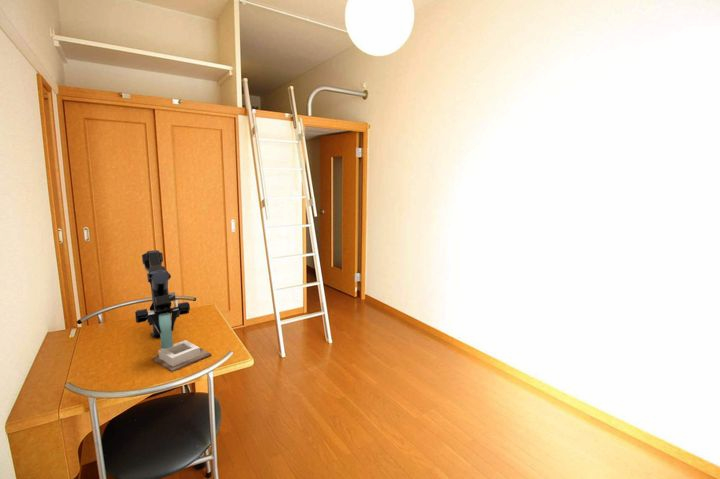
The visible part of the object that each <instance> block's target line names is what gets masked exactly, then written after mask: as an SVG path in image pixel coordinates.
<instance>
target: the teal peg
mask: <svg viewBox="0 0 720 479" xmlns="http://www.w3.org/2000/svg"><path fill="white" fill-rule="evenodd" d="M171 315H172V314H171ZM171 315H170V313H163V314H160V315H159V326H160V332H161V333H160V337H159V338H160V346H161V348H160V349H162V348H163V349H167V348H170V347H172V346H173V344H174V343H173V342H174V341H173V331H172V327H171Z"/></svg>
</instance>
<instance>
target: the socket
mask: <svg viewBox="0 0 720 479" xmlns="http://www.w3.org/2000/svg"><path fill="white" fill-rule="evenodd" d="M200 348H201V347H199V346H197V345H196V344H194V343H192V342H190V341H188V340H186V339H185V340H182V341H179V342H176V343H173V346H172V347H170V348H167V349H163V348H160V349H158V350H157V351H158V355H159V358H160V359H162V360H163V361H165V362H166V363H168V364H169V365H171V366H175V365H178V364H180V363H183V362H185V361H188V360H190V359H193V358H195V357H198V356H200Z"/></svg>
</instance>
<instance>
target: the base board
mask: <svg viewBox="0 0 720 479" xmlns="http://www.w3.org/2000/svg"><path fill="white" fill-rule="evenodd" d="M210 357H212V353H210V352H208V351H206V350H205V349H203V348H201V347H200V356H198V357H195V358H193V359H190V360H188V361H185V362H183V363H180V364H178V365H175V366H171V365H169V364H168V363H166V362H165V361H163V360H162V359H160V358H159V354H158V355H155V356H153V357H151V358H152V360H153V361H154V362H156V363H157V364H159V365H160V366H162V367H163V368H165V369H167V370H168V371H169V372H171V373H173V372H176V371H179V370H182V369H183V368H186V367H189V366H190V365H194V364H195V363H198V362H201V361H202V360H205V359H207V358H210Z"/></svg>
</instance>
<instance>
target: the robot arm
mask: <svg viewBox="0 0 720 479" xmlns="http://www.w3.org/2000/svg"><path fill="white" fill-rule="evenodd" d="M163 256H164V255H163V252H160V250H156V249H155V250H148V251H146V252H145V253H143V254H141V263H142V265H144V270H146V272H147V273H146V279H147V283H149V284H150V293H151V302H152V303H151V305H150V306H149V310H148V308H144V309H143V308H142V309H138V310H136V311H135V312H134V313H135V314H134V315H135V323H137V324H140V323H144V322H146V321H147V323H148V325H149V326H152V332H151V333H149V334H150V335H149V336H151V337H153V338H155V339H159V338H161V337H160V333H161V332H160V326H159V315H160V314H163V313H170V315H171V327H172V332H174V329H175V323H176V320H177V318H180V316H181V315H182V316H183V315H188V314H189V313H190V309H191V306H190V303H189V302H188V301H185V302H179V303H178V305H177V306H174V307H172V302H174V301H175V302H176V300H177V299H176V294H175V293H176V292H175V291H174V292H170V293H169V289H168V288H169V280H170V279H172V274H170V273H169V270H167V269H166V266H163V264H162V263H163V262H164V257H163Z"/></svg>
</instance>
